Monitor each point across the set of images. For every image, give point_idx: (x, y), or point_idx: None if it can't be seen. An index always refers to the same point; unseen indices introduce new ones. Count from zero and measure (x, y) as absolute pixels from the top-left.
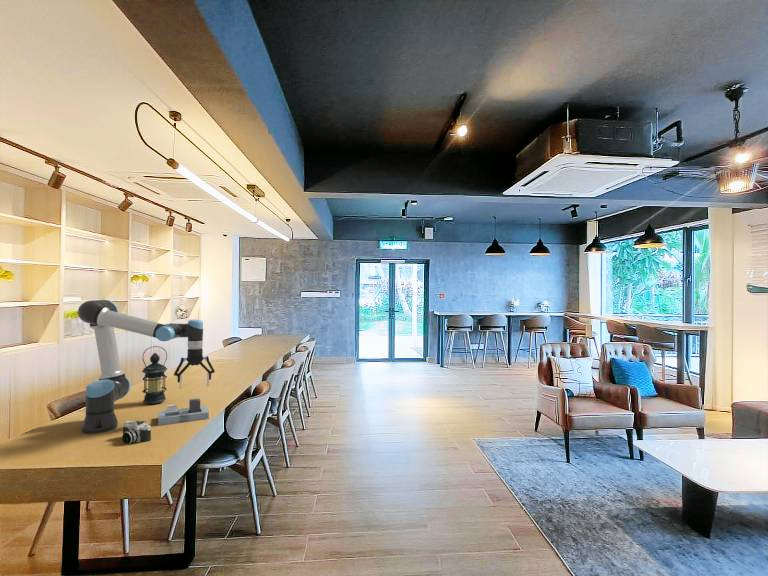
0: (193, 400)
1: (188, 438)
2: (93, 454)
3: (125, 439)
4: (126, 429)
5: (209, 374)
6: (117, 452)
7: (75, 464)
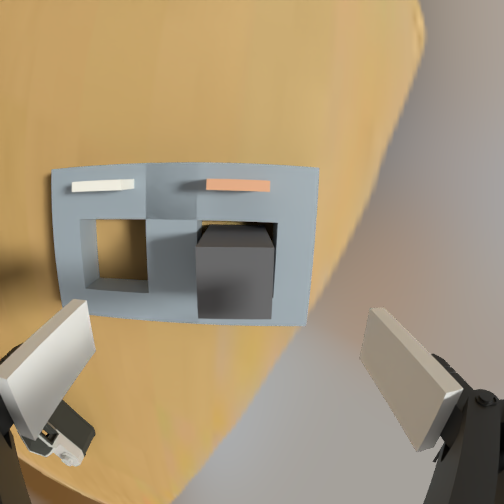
0: (223, 291)
1: (200, 467)
2: None
3: None
4: None
5: (444, 429)
6: None
7: None
